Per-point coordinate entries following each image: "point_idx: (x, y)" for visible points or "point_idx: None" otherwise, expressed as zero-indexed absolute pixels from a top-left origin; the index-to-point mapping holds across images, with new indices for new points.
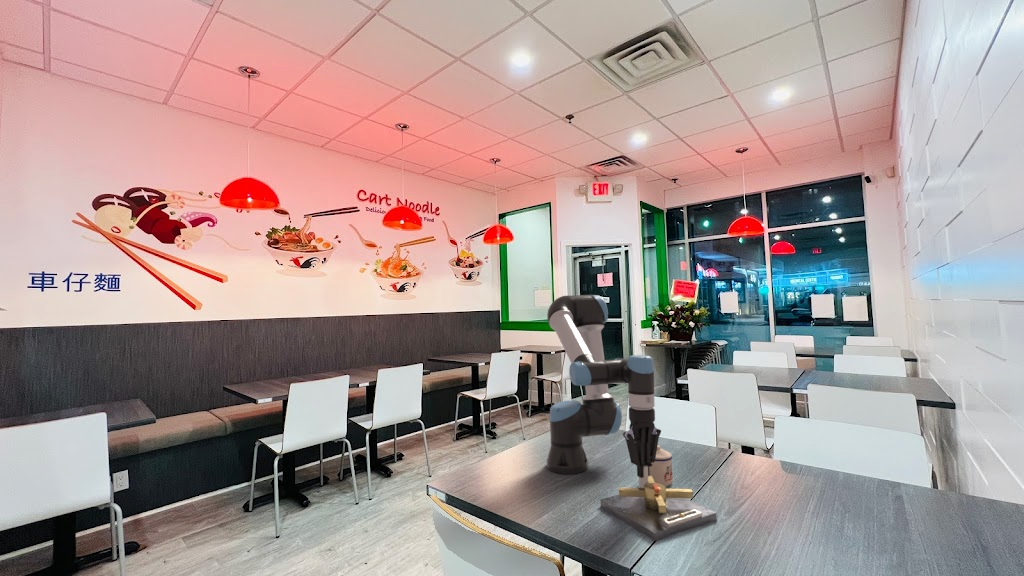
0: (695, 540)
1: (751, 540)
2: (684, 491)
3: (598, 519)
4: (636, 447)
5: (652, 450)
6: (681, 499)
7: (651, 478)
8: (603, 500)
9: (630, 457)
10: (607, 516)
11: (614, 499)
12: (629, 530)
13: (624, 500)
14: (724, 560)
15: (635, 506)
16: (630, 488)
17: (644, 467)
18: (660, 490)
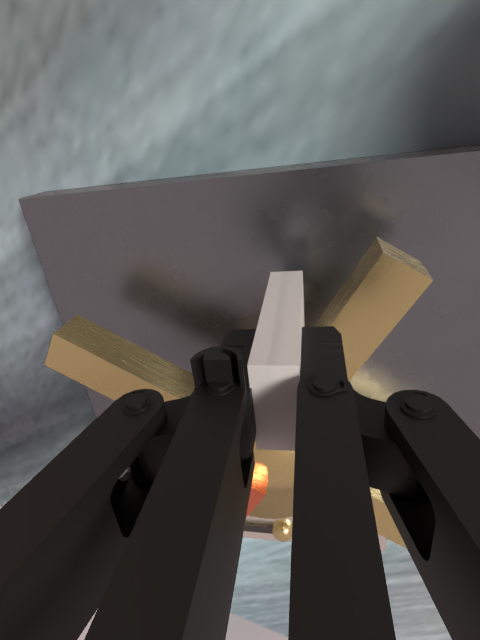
0: (266, 541)
1: (427, 611)
2: (403, 544)
3: (2, 301)
4: (113, 621)
5: (457, 625)
6: (462, 405)
7: (383, 319)
8: (33, 218)
9: (72, 453)
10: (47, 297)
11: (99, 236)
12: (93, 416)
13: (148, 274)
14: (263, 608)
15: (170, 353)
16: (121, 380)
17: (257, 443)
18: (255, 509)
